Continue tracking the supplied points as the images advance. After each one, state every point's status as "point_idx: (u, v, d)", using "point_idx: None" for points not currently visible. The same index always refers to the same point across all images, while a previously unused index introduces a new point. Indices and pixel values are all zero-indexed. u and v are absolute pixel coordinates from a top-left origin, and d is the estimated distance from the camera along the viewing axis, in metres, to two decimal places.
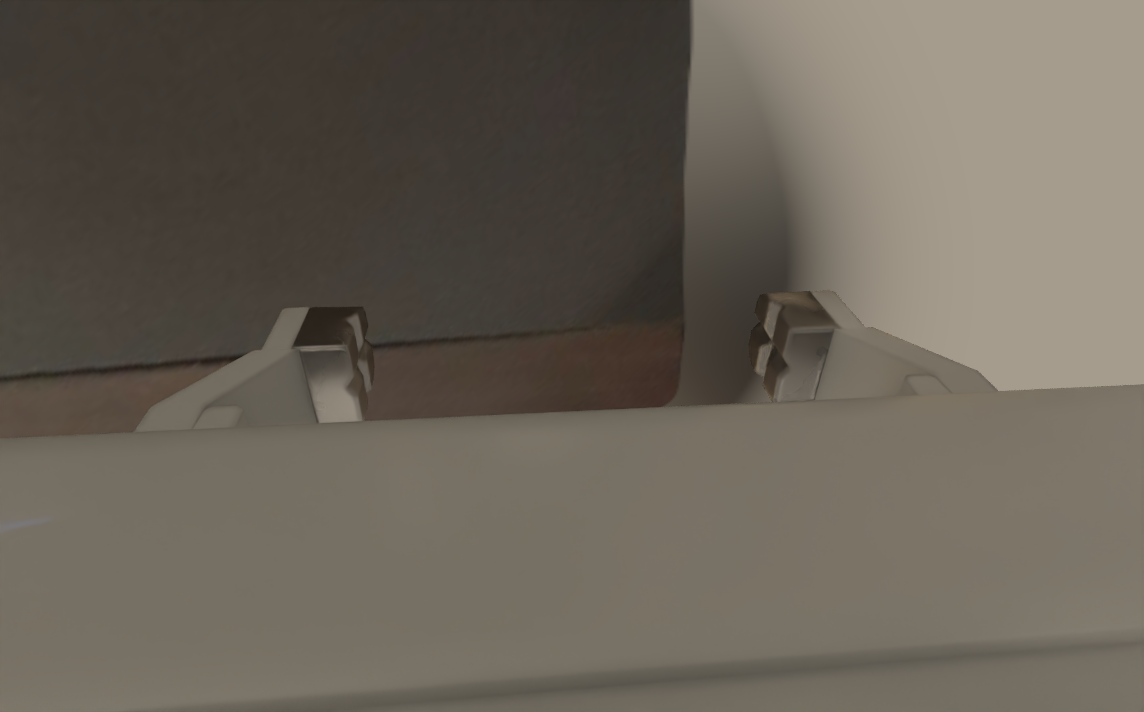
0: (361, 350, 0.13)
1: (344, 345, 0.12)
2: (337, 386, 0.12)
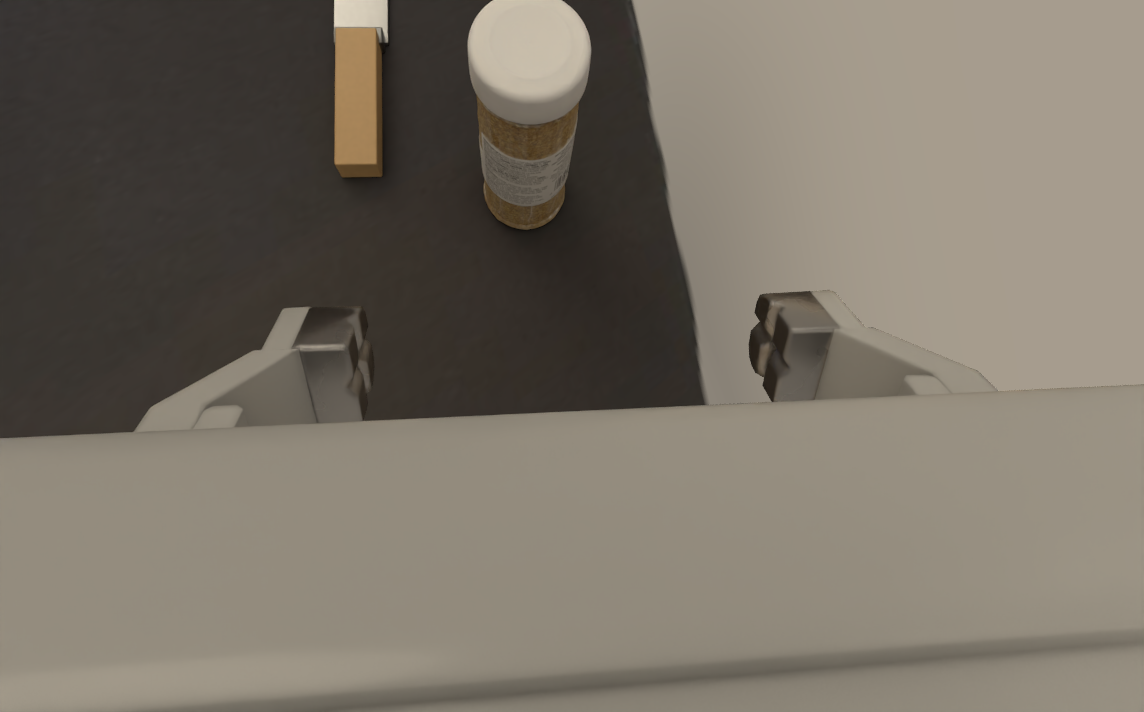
0: (361, 350, 0.13)
1: (344, 345, 0.12)
2: (337, 386, 0.12)
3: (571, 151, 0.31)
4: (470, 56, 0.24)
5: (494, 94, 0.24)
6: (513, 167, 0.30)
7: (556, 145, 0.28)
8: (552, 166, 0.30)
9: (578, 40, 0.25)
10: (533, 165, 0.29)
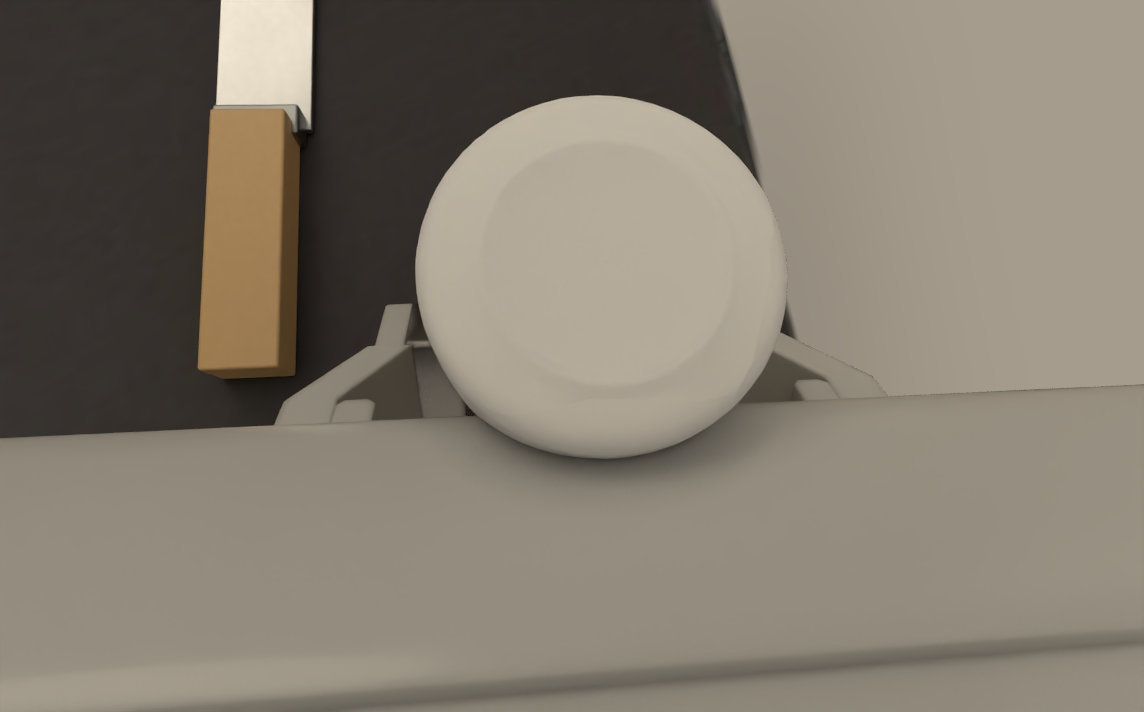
0: None
1: None
2: (445, 381, 0.12)
3: None
4: (423, 309, 0.08)
5: (495, 424, 0.08)
6: None
7: None
8: None
9: (755, 250, 0.08)
10: None
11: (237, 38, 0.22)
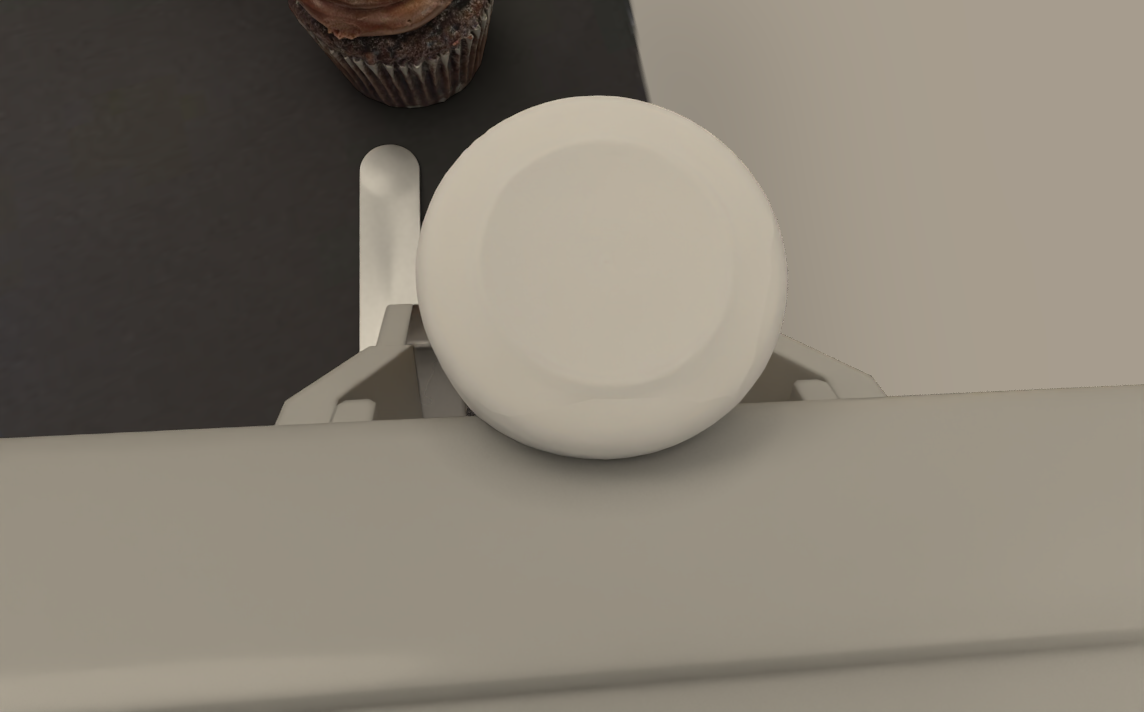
0: None
1: None
2: (445, 381, 0.12)
3: None
4: (423, 309, 0.08)
5: (496, 425, 0.08)
6: None
7: None
8: None
9: (756, 249, 0.08)
10: None
11: None
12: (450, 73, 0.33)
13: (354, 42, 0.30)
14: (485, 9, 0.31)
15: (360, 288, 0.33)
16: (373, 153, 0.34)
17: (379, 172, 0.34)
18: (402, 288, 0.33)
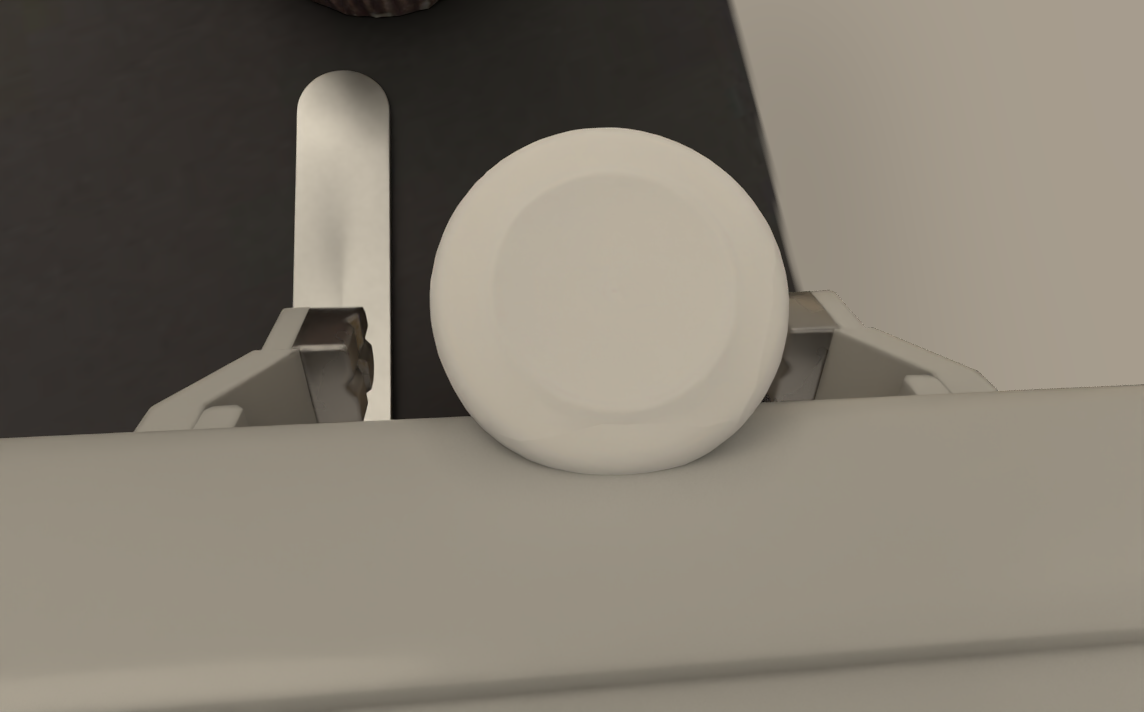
0: (361, 350, 0.13)
1: (344, 345, 0.12)
2: (337, 386, 0.12)
3: None
4: (437, 337, 0.08)
5: (508, 447, 0.08)
6: None
7: None
8: None
9: (759, 279, 0.08)
10: None
11: None
12: None
13: None
14: None
15: (294, 290, 0.21)
16: (318, 83, 0.22)
17: (327, 113, 0.22)
18: (359, 291, 0.21)
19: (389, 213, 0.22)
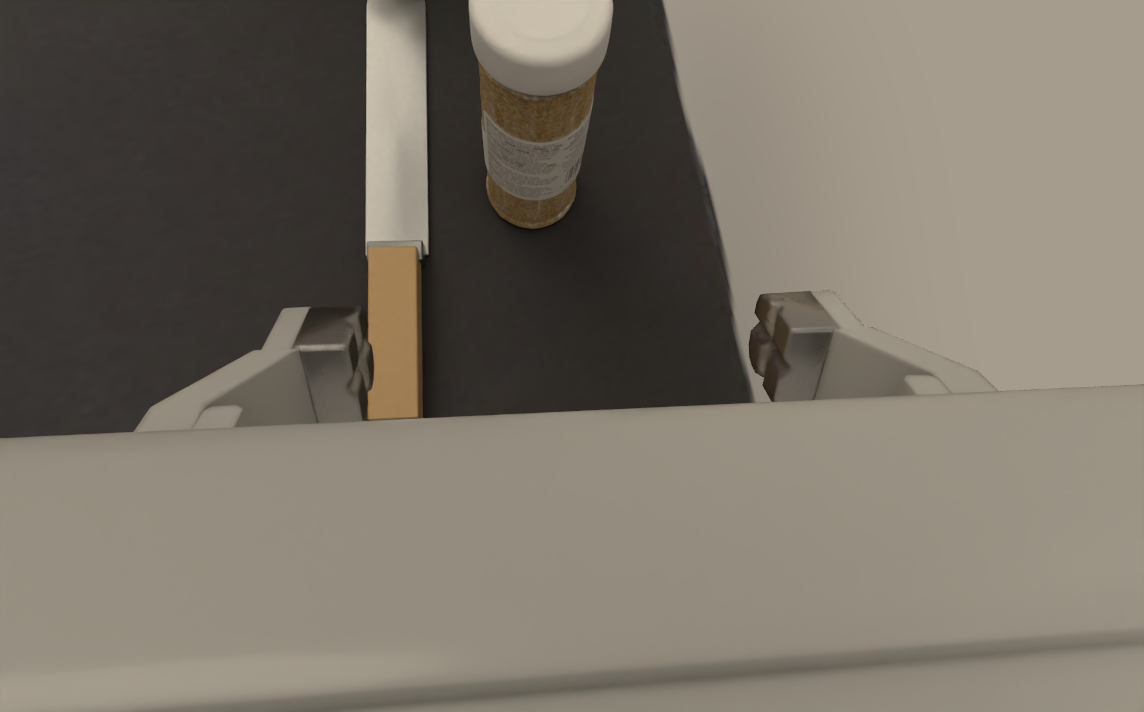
0: (361, 350, 0.13)
1: (344, 345, 0.12)
2: (337, 386, 0.12)
3: (585, 137, 0.28)
4: (471, 12, 0.21)
5: (498, 57, 0.21)
6: (520, 151, 0.26)
7: (569, 126, 0.25)
8: (564, 152, 0.26)
9: None
10: (542, 149, 0.26)
11: (378, 191, 0.33)
12: None
13: None
14: None
15: (367, 115, 0.34)
16: None
17: (386, 8, 0.35)
18: (407, 116, 0.34)
19: (426, 70, 0.34)
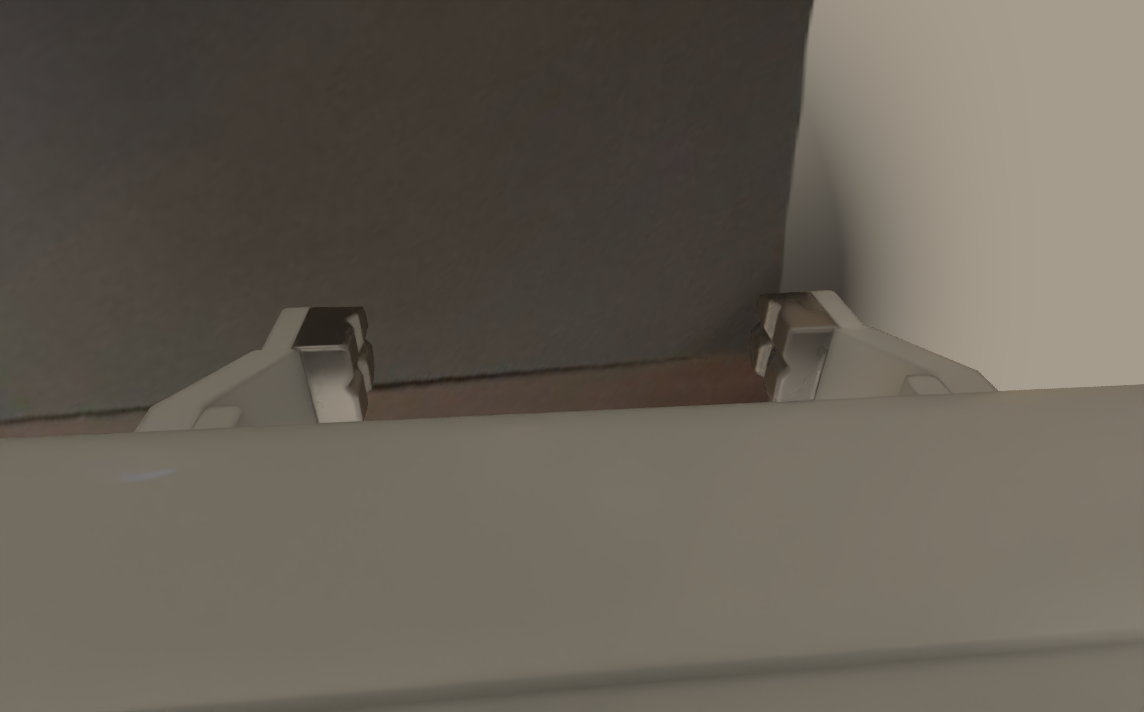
0: (361, 350, 0.13)
1: (344, 345, 0.12)
2: (337, 386, 0.12)
3: None
4: None
5: None
6: None
7: None
8: None
9: None
10: None
11: None
12: None
13: None
14: None
15: None
16: None
17: None
18: None
19: None
